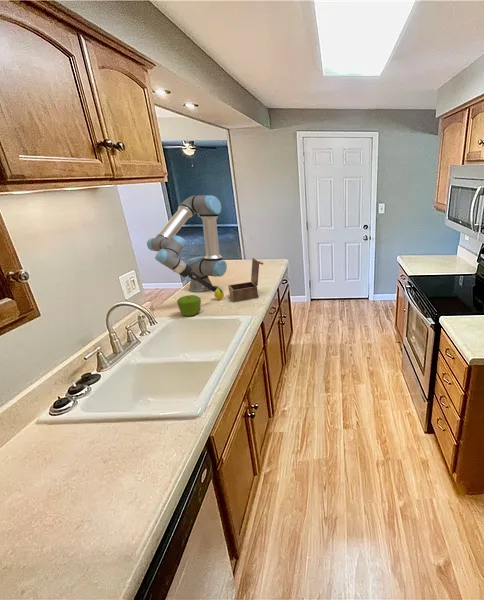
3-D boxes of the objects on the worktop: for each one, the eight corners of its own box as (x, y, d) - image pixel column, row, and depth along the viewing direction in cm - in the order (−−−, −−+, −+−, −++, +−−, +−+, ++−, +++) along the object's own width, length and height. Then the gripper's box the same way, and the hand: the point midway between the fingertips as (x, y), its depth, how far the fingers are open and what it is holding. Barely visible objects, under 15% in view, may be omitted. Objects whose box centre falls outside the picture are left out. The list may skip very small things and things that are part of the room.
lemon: (214, 298, 218) (212, 284, 215) (224, 297, 220) (222, 283, 217) (215, 301, 213) (212, 287, 209) (224, 300, 215) (222, 286, 211)
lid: (258, 261, 212) (265, 262, 215) (252, 257, 223) (259, 258, 226) (256, 286, 217) (263, 286, 219) (250, 280, 227) (257, 281, 230)
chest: (234, 302, 212) (232, 290, 209) (229, 296, 223) (228, 285, 220) (258, 297, 220) (257, 286, 217) (252, 292, 231) (251, 281, 228)
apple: (204, 314, 192) (201, 296, 188) (181, 319, 186) (177, 301, 182) (200, 308, 202) (197, 291, 198) (178, 312, 195) (174, 294, 191)
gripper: (173, 269, 205) (201, 287, 219) (184, 278, 187) (215, 297, 201) (180, 260, 206) (208, 278, 221) (192, 267, 188) (222, 287, 203)
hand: (211, 287), depth 211 cm, fingers open, 13 cm apart
